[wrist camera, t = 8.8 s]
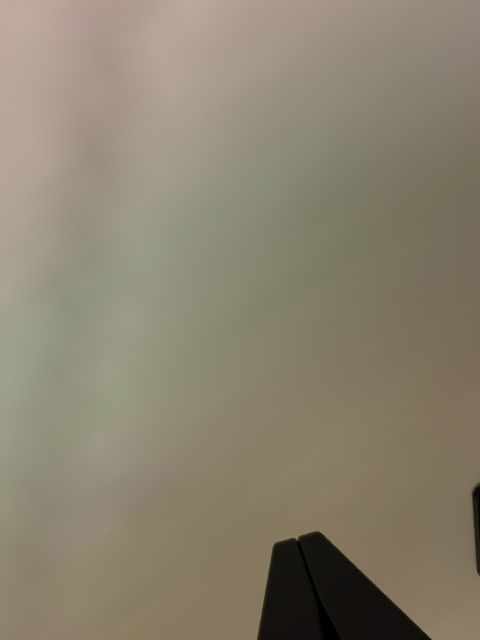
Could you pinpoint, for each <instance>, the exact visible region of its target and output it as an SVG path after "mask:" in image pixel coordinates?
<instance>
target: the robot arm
mask: <svg viewBox="0 0 480 640" xmlns="http://www.w3.org/2000/svg"><path fill="white" fill-rule="evenodd" d="M473 509H474V526H475V542H476V558H477V572H478V574H479V576H480V487H479V488H477V489H476V490H475V491H474V493H473ZM297 541H298V542H297ZM257 640H432V639H431V638H430V637H429V636H428V635H427V634H426V633H424V632H423V631H422V630H421V629H420V628H419V627H418V626H417V625H416V624H415V623H414V622H413V621H412V620H411V619H410V618H409V617H408V616H407V615H406V614H405V613H404V612H403V611H402V610H401V609H400V608H399V607H398V606H397V605H395V604H394V603H393V602H392V601H391V600H390V599H389V598H388V597H387V596H386V595H385V594H384V593H383V592H382V591H381V590H380V589H379V588H378V587H377V586H376V585H375V584H374V583H373V582H372V581H371V580H370V579H369V578H368V577H366V576H365V575H364V574H363V573H362V572H361V571H360V570H359V569H358V568H357V567H356V566H355V565H354V564H353V563H352V562H351V561H350V560H349V559H348V558H347V557H346V556H345V555H344V554H343V553H342V552H341V551H340V550H339V549H337V548H336V547H335V546H334V545H333V544H332V543H331V542H330V541H329V540H328V539H327V538H326V537H325V536H324V535H323V534H322V533H320V532H318V531H315V532H312V533H308V534H305V535H301V536H299V537H298V540H296V539H295V538H290V539H287V540H283V541H280V542H276V543H275V544H274V546H273V549H272V555H271V561H270V567H269V573H268V579H267V585H266V591H265V596H264V602H263V608H262V614H261V620H260V626H259V632H258V637H257Z"/></svg>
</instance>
